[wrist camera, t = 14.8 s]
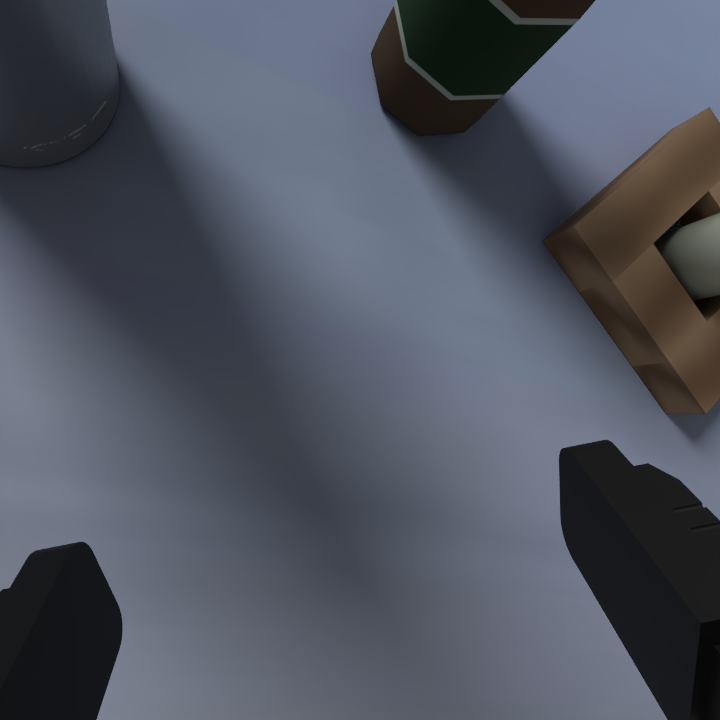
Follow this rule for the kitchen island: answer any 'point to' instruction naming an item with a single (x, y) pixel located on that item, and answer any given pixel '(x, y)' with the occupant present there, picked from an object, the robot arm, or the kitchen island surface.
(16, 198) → the kitchen island surface
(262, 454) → the kitchen island surface
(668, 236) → the pale green cylinder
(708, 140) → the walnut block
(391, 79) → the beer bottle
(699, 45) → the kitchen island surface
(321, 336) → the kitchen island surface
